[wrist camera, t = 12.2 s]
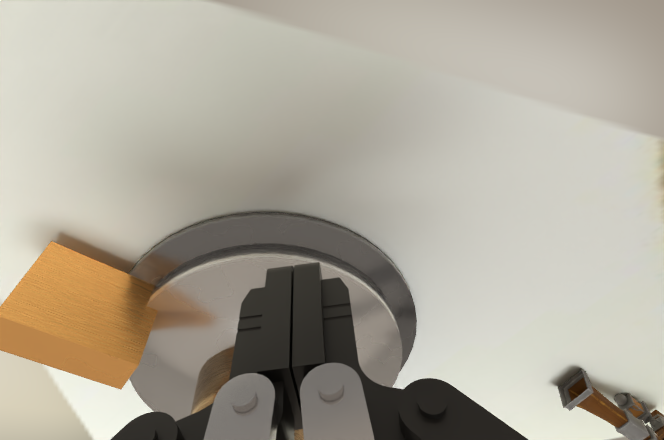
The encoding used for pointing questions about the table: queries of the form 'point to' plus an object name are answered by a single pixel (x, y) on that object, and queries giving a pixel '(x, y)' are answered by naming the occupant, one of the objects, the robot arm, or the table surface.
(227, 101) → the table surface
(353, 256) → the base plate
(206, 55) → the table surface
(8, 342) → the silver disc with handle
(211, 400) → the cover
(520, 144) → the table surface
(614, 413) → the toy blunderbuss
